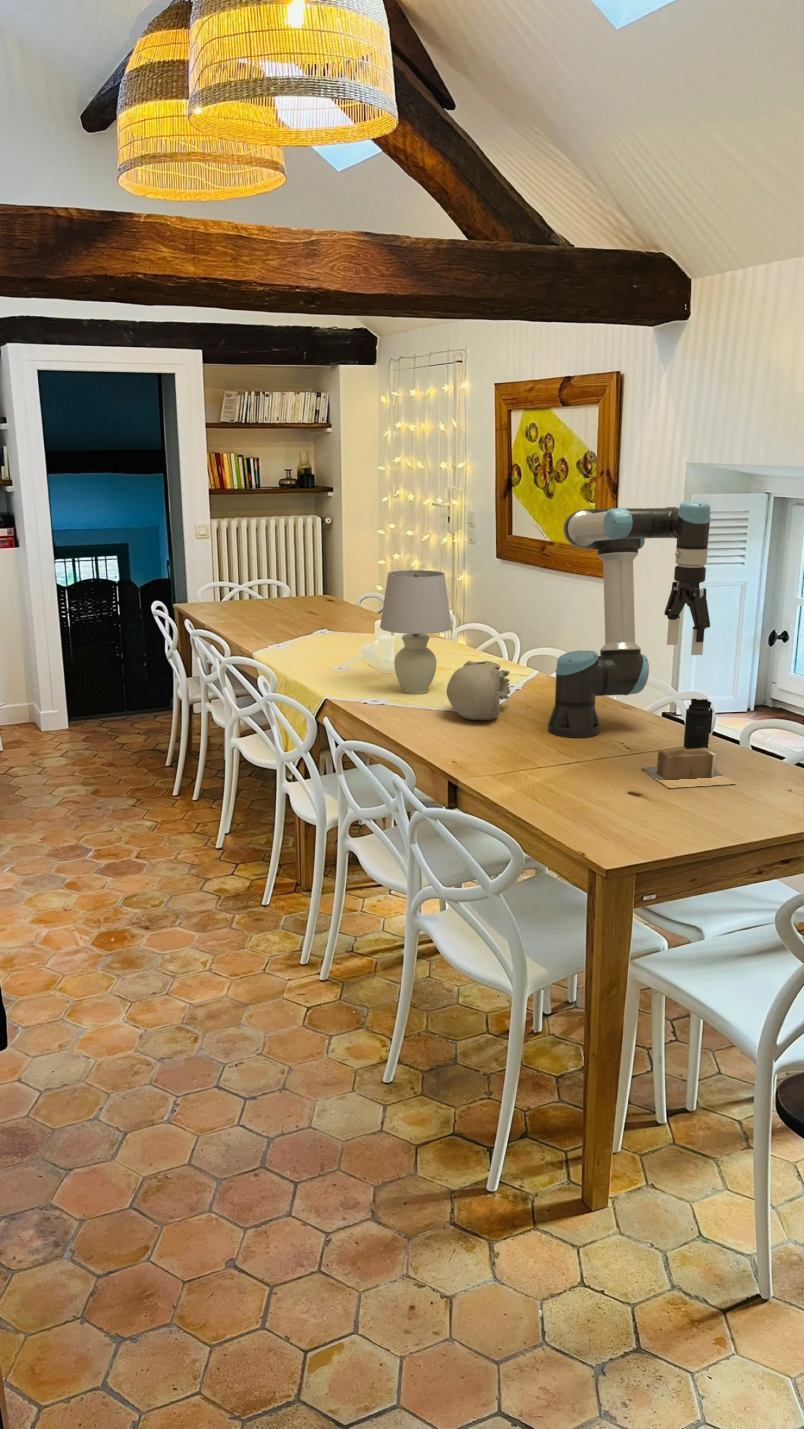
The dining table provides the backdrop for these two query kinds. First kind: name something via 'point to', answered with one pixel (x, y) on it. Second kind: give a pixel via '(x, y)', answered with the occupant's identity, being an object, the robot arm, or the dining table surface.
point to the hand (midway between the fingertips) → (684, 649)
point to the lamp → (415, 623)
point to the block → (686, 764)
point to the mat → (653, 772)
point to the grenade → (698, 724)
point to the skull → (478, 690)
